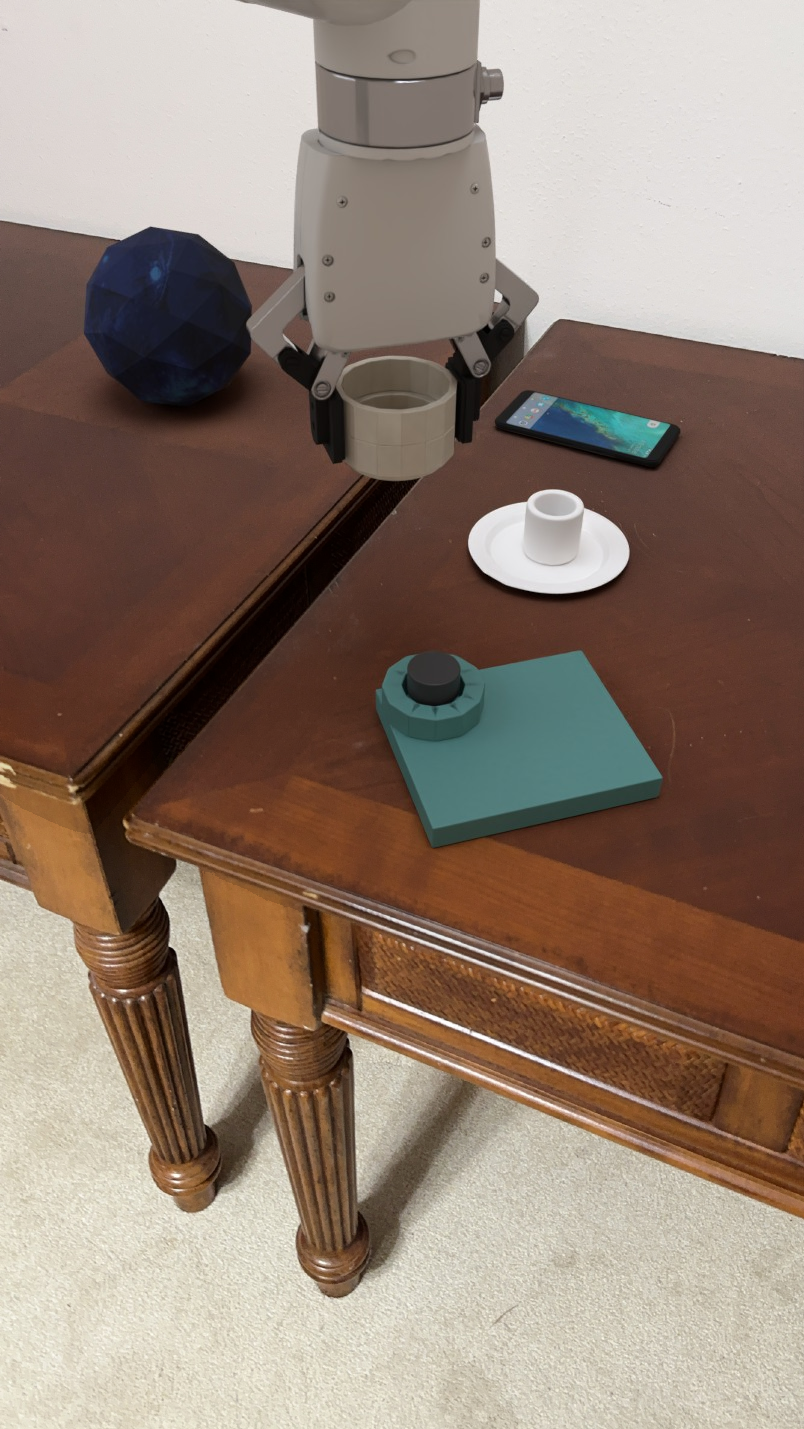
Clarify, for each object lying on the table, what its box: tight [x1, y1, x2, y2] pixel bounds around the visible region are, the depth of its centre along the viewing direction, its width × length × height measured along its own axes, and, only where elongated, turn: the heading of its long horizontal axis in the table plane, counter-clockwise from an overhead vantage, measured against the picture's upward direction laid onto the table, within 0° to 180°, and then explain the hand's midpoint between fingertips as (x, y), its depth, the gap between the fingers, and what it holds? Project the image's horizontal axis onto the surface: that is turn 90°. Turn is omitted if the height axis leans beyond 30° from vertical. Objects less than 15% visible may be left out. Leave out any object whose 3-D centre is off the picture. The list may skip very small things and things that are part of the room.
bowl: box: [336, 355, 457, 482], centre depth 63 cm, size 7×7×4 cm
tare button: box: [407, 650, 461, 706], centre depth 66 cm, size 3×3×2 cm
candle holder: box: [467, 488, 630, 595], centre depth 81 cm, size 12×12×4 cm
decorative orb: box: [83, 225, 253, 407], centre depth 96 cm, size 14×15×15 cm
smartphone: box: [494, 389, 681, 468], centre depth 96 cm, size 7×1×15 cm
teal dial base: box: [375, 649, 664, 849], centre depth 67 cm, size 14×13×4 cm
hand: (395, 439), depth 64 cm, fingers closed on bowl, 7 cm apart
